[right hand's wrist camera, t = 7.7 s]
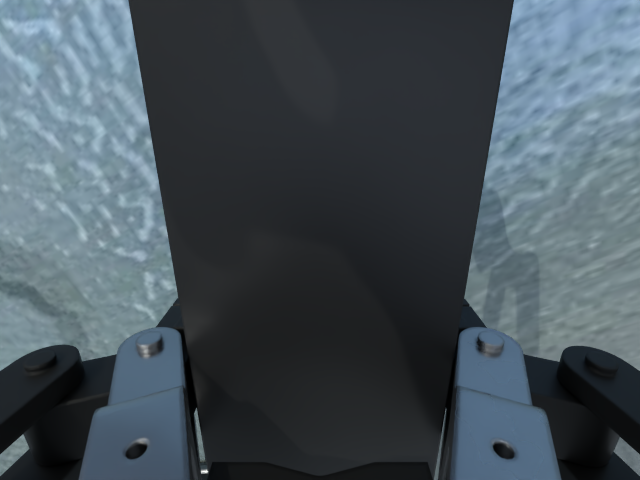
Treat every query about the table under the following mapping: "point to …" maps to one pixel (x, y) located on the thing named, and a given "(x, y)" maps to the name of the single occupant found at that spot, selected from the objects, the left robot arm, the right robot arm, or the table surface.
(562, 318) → the table surface
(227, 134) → the bar
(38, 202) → the table surface
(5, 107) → the table surface
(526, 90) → the table surface
